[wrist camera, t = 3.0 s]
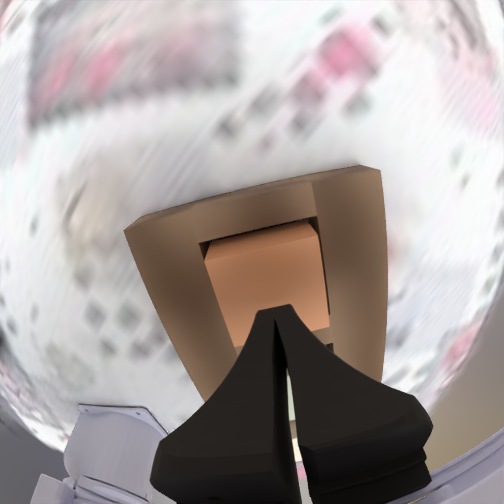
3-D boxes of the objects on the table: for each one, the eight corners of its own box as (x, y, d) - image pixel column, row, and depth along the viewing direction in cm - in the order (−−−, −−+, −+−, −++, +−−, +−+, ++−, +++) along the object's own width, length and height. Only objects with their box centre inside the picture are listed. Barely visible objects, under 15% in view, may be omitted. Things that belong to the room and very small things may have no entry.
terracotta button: (235, 319, 16) (234, 347, 14) (210, 241, 14) (204, 261, 12) (319, 301, 16) (329, 326, 14) (306, 219, 14) (317, 235, 12)
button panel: (245, 444, 25) (245, 463, 22) (140, 217, 15) (123, 230, 13) (365, 419, 24) (371, 437, 21) (361, 165, 14) (380, 170, 12)
